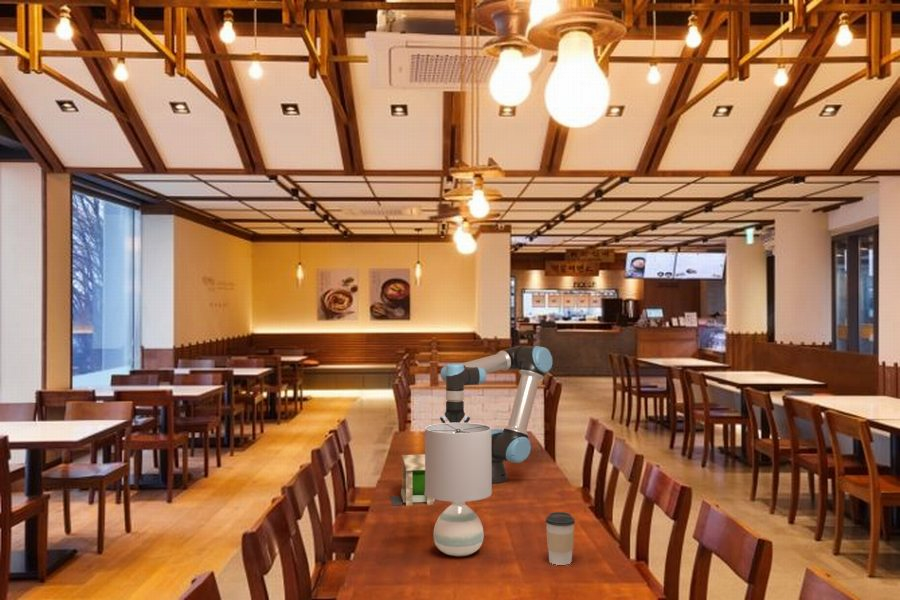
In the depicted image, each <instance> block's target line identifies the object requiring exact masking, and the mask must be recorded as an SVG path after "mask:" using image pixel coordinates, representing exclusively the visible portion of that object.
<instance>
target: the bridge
mask: <svg viewBox="0 0 900 600" xmlns="http://www.w3.org/2000/svg"><path fill="white" fill-rule="evenodd" d="M401 457H402V458H401V459H402V460H401V461H402V462H401V463H402V464H401V465H402V467H401V469H402V474H401V476H402V477H401V478H402V480H401V481H402V484H401V485H402V488H401V489H406V503H405V506H406V507H408V506H409V507H411V506H413V502H412V470H424V471H425V453H422V454H402V455H401ZM426 505H427V506H434V502H433V499H432V498H430V497H428V496H427V502H426Z"/></svg>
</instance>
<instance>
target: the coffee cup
mask: <svg viewBox="0 0 900 600" xmlns="http://www.w3.org/2000/svg"><path fill="white" fill-rule="evenodd" d="M545 523H546V528H545V529H546V543H547V544H546V545H547V550H548V551H547V552H548V562H549V563H550V564H551V563H552V564H551V565H553V564H556V565H555V566H557V565H566V564H570V563H571V562H572V561H573V550H574V539H575V538H574V537H575V530H574V529H575V523H576V522H575V518H574V517H573V516H572V514H570V513H567V512H559V511H558V512H557V511H555V512H550V513H549V515H548V516H547V517H546V518H545ZM571 564H572V563H571ZM571 564H570V565H571ZM566 566H567V565H566Z"/></svg>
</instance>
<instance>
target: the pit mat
mask: <svg viewBox="0 0 900 600" xmlns="http://www.w3.org/2000/svg"><path fill="white" fill-rule="evenodd" d="M389 497H390V502H391V505H392V506H403V501H402V497H401V495H392V496H389Z"/></svg>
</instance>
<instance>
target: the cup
mask: <svg viewBox="0 0 900 600" xmlns="http://www.w3.org/2000/svg"><path fill="white" fill-rule="evenodd" d="M424 493H425V471H424V470H412V496H413V495H425V494H424Z"/></svg>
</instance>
